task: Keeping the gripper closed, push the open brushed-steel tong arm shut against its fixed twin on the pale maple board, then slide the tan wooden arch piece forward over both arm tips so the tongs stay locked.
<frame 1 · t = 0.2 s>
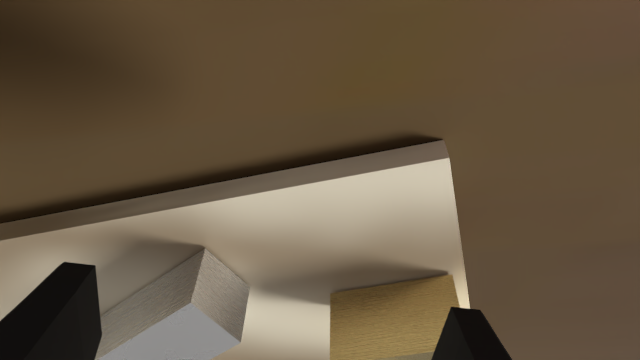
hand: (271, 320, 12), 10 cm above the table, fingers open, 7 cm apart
board: (208, 351, 28), on the table
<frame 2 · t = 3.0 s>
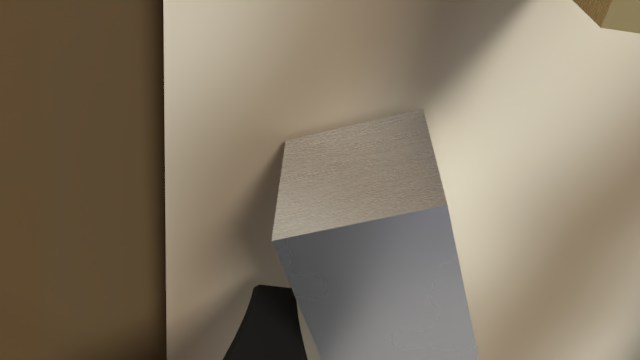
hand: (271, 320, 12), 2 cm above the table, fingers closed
board: (567, 254, 14), on the table
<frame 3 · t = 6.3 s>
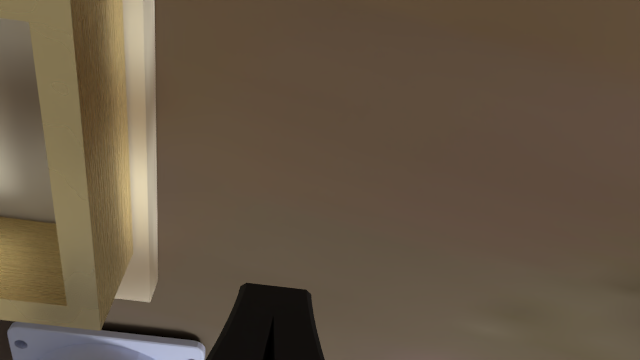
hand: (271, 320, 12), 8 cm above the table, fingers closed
tan wooden arch piece: (19, 142, 16), point 3 cm above the table, slide at 0.0 cm
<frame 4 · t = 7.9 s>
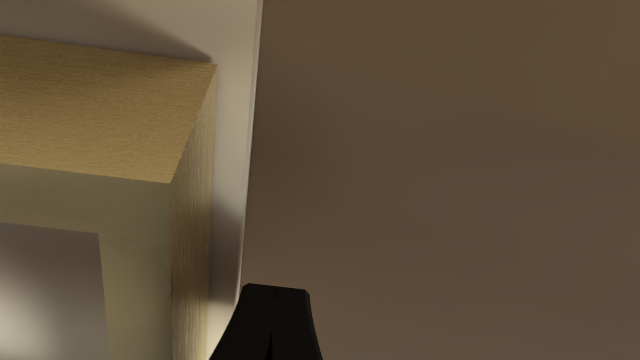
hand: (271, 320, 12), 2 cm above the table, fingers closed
tan wooden arch piece: (64, 338, 11), point 3 cm above the table, slide at 0.1 cm, touching gripper
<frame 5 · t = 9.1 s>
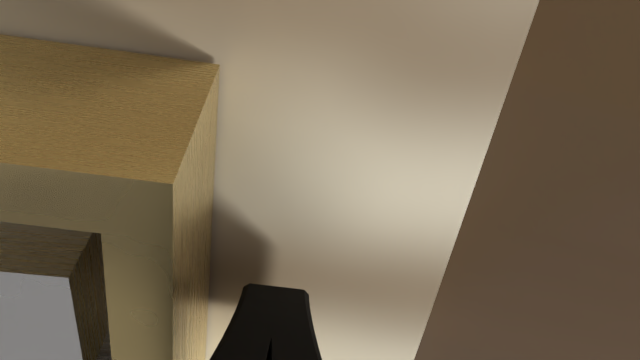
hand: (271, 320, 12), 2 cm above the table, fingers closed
tan wooden arch piece: (64, 338, 11), point 3 cm above the table, slide at 4.4 cm, touching gripper
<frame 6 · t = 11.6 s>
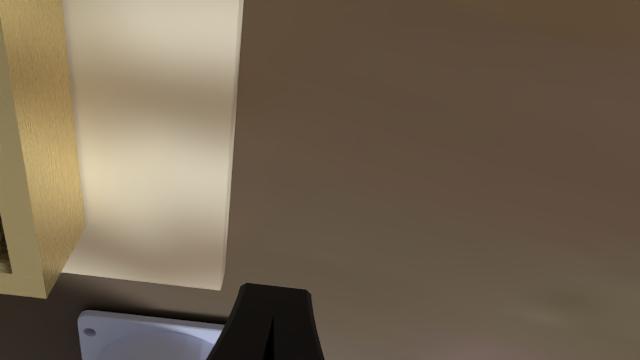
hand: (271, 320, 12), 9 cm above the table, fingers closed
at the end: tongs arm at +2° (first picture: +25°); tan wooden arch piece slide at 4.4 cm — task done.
